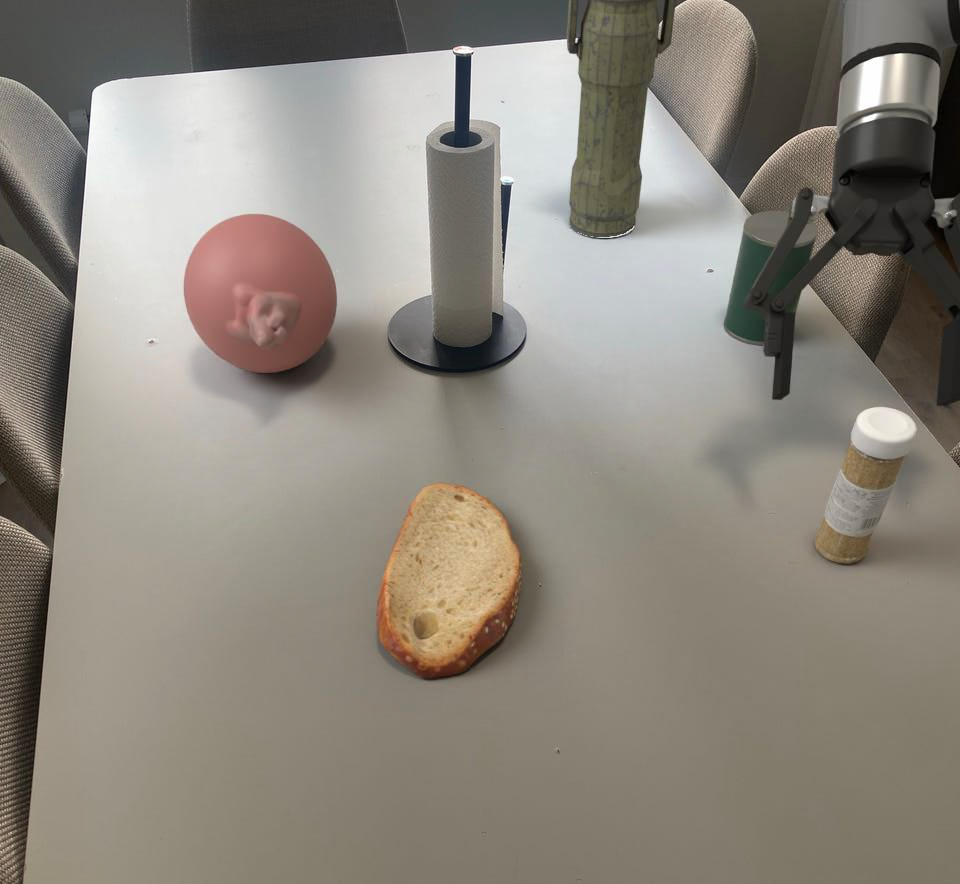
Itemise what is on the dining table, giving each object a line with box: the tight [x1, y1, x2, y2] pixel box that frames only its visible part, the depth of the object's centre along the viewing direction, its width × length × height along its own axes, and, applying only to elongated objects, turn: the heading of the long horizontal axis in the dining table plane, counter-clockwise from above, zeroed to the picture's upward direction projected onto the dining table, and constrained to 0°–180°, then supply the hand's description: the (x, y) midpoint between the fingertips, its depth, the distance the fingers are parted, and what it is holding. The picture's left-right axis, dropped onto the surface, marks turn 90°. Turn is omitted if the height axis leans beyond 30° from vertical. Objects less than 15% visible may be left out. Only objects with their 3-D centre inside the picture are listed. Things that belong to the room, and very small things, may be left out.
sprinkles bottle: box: [814, 406, 918, 565], centre depth 78 cm, size 5×5×13 cm
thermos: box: [566, 0, 677, 237], centre depth 110 cm, size 9×12×35 cm
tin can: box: [723, 210, 819, 346], centre depth 102 cm, size 8×8×12 cm
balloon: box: [183, 213, 338, 374], centre depth 96 cm, size 15×20×15 cm
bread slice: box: [376, 482, 523, 680], centre depth 79 cm, size 18×18×4 cm
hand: (863, 400), depth 78 cm, fingers open, 13 cm apart
